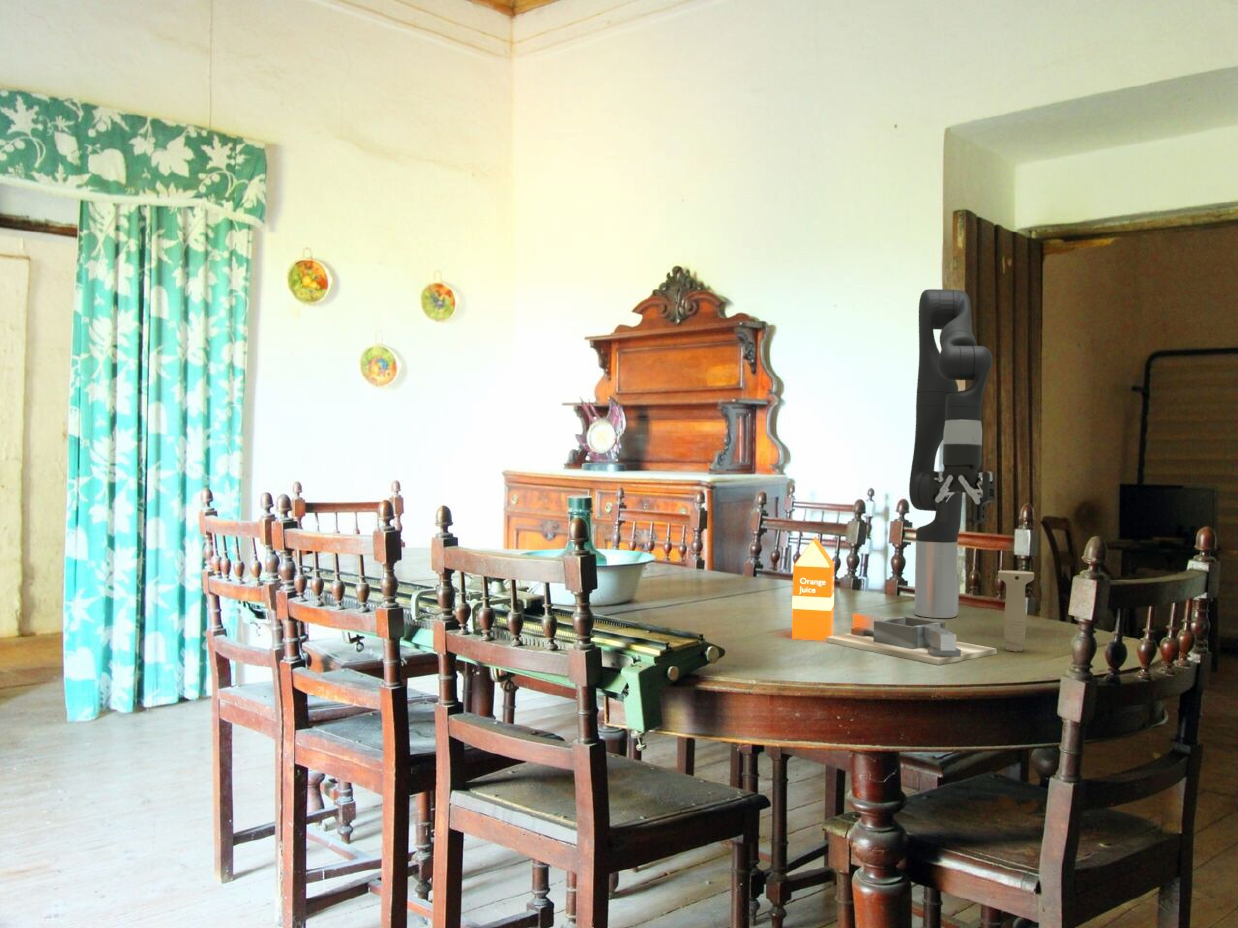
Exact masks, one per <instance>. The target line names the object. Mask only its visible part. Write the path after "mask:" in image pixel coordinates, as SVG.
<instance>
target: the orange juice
mask: <svg viewBox="0 0 1238 928" xmlns="http://www.w3.org/2000/svg"><path fill="white" fill-rule="evenodd" d="M792 572H793V573H792V600H791V601H792V606H791V607H792V608H791V609H792V614H791V615H792V620H791V621H792V623H791V625H792V626H791V639H793V640H810V641H822V642H823V641H824V642H826V637H828V636H834V607H835V606H834V605H835V562H834V561H833V559H832V558H831V557H830V555H829V554H828V552H827V551H826V549H825V548H824V546H823V545H822V543H821V542H820V540H819V539H818V537H817V536H815V537H814V538H813V539H812V540H811V541H810V542H809V544H808V545H807V547H806V548H805V549H804V550H803V552H802V553H801V555H800V556H799V558H798V559H797V560H796V561H795V563H794V564H793V567H792Z"/></svg>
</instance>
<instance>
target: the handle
mask: <svg viewBox="0 0 1238 928" xmlns="http://www.w3.org/2000/svg"><path fill="white" fill-rule="evenodd" d="M997 577H998V579H999V580H1001V582H1004V584H1005V588H1006V589H1005V590H1006V591H1005V602H1004V603H1005V604H1004V612H1003V613H1004V614H1003V636H1004V641H1005V643H1004V645H1005V649H1006V651H1008V652H1014V653H1016V652H1023V651H1024V646H1025V645H1024V642H1025V640H1026V630H1027V609H1026V608H1027V607H1026V585H1027V584H1029V583H1031V582H1032V581H1034V579H1035V572H1034V571H1033V572H1032V571H1024V570H998V571H997Z"/></svg>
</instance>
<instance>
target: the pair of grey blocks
mask: <svg viewBox="0 0 1238 928" xmlns="http://www.w3.org/2000/svg"><path fill="white" fill-rule="evenodd" d="M891 618H893V616H886V615H885V616H884V615H878V614H874V613H867V612H855V613H852V627H851V629H850V631H851V632H850V633H851V634H852V635H857V636H862V637H865V636H871V635H874V621H877V620H878V621H879V620H884V619H891ZM923 626H924V637H923V641H924V642H926V643H928V644H930V645H932V646H933V647H928V654H930V655H932V656H940V657H961V650H960V649H958V648H956V641H957V634H955V633H953V632H951V631H949V630H947V629H946V628H945V629H943V628H941V627H939V626H937V625H923Z"/></svg>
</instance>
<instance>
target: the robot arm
mask: <svg viewBox="0 0 1238 928" xmlns="http://www.w3.org/2000/svg"><path fill="white" fill-rule="evenodd" d="M919 297H920V298H919V302H918V303H919V304H918V370H917V371H918V372H917V383H916V385H917V386H916V397H915V399H916V400H915V401H916V403H915V430H914V432H915V433H914V446H913V455H912V462H911V469H910V477H909V485H908V486H909V487H908V492H909V501H910V503H911V505H912V506H913V508H914V509H916V510H918V511H926V512H927V511H928V512H935V515H934V519H932V521H931V522H930V523H927V524H925V525H922V526H919V527H918V528H916V531H915V570H914V571H915V573H914V577H915V578H914V583H915V584H914V615H916V616H919V617H923V618H925V617H926V618H932V619H933V618H934V619H951V618H955V617H956V616H958V615H959V597H960V596H959V595H960V593H959V589H960V586H959V584H960V583H959V581H960V575H959V574H958V546H959V545H958V539H959V533H960V529H961V525H962V524H961V523H962V510H963V497H964V496H963V494H964V493H967V494H968V495H969V497H971V499H972V500H973V501H974V503H975V504H974V507H973V510H974V511H973V522H974V524H983V523H984V521H985V520H986V506H987V504H989V503H992V502H995V501H996V477H995V476H996V475H995V473H994V471H982V472H981V466H982V453H983V452H982V451H983V450H982V449H983V427H982V407H983V406H982V405H983V397H984V391H985V389H986V388H985V387H986V385H987V381H988V378H989V376H990V373H991V369H992V365H993V355H992V353H991V351H990V350H989V348H987V347H986V346H984V345H977V341H976V339H975V336H974V333H973V326H972V324H973V321H972V310H971V309H972V307H971V299H970V297H969V295H968V293H967V292H966V291H964V290H961V289H938V288H937V289H936V288H935V289H933V288H932V289H930V288H929V289H924V290H923V291H922V292H921V293H920V296H919ZM934 330H940V331H941V332H940V334H939V345H940V347H941V350H939V348H938V346H937V343H936V339H935V333H934ZM957 381H971V385H970V387H968V388H967V389H964V390H959V385H958V382H957ZM941 443H942V446H943V447H942V464H943V468H944V469H943V471H939V470H935V465H936V458H937V453H938V451H939V447H940V446H941ZM980 481H981V483H982V485H981V486H982V487H981V486H980V485H979V482H980Z"/></svg>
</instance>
